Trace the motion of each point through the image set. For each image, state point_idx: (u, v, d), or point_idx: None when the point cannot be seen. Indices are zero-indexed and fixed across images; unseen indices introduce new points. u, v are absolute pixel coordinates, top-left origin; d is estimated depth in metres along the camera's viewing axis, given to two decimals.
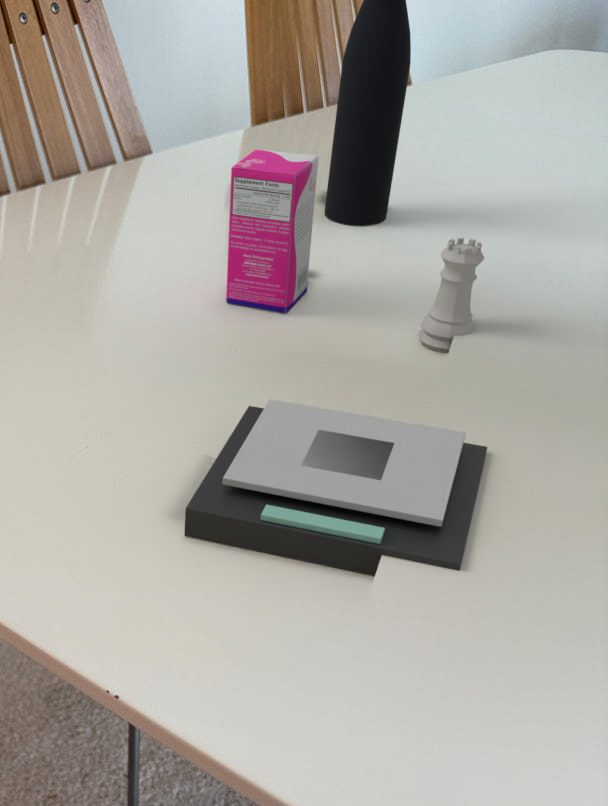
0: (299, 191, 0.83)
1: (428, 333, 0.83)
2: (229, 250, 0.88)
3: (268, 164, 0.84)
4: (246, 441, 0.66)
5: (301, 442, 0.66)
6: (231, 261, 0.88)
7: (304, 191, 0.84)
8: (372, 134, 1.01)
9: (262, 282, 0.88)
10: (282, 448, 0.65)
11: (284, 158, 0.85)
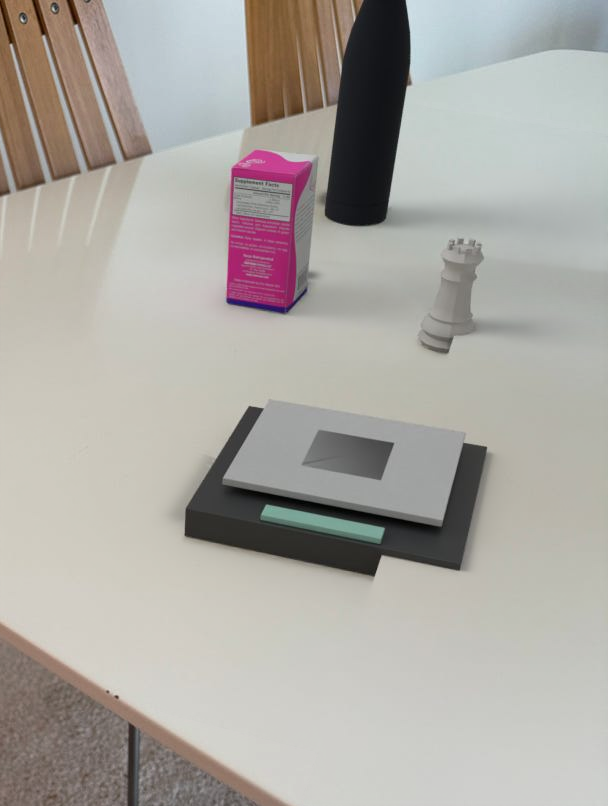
0: (299, 191, 0.83)
1: (428, 333, 0.83)
2: (229, 250, 0.88)
3: (268, 164, 0.84)
4: (246, 441, 0.66)
5: (301, 442, 0.66)
6: (231, 261, 0.88)
7: (304, 191, 0.84)
8: (372, 134, 1.01)
9: (262, 282, 0.88)
10: (282, 448, 0.65)
11: (284, 158, 0.85)
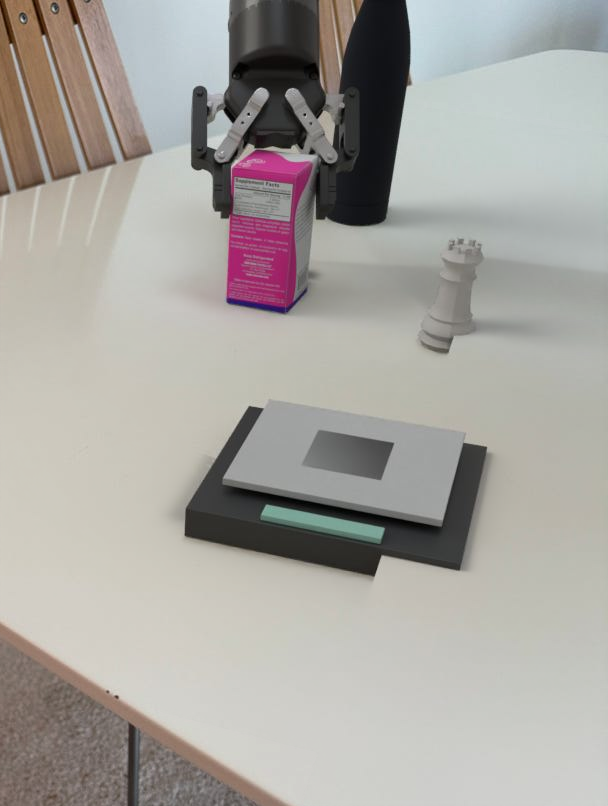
0: (299, 191, 0.83)
1: (428, 333, 0.83)
2: (229, 250, 0.88)
3: (269, 164, 0.84)
4: (246, 441, 0.66)
5: (301, 442, 0.66)
6: (231, 261, 0.88)
7: (304, 191, 0.84)
8: (372, 134, 1.01)
9: (262, 282, 0.88)
10: (282, 448, 0.65)
11: (284, 158, 0.85)
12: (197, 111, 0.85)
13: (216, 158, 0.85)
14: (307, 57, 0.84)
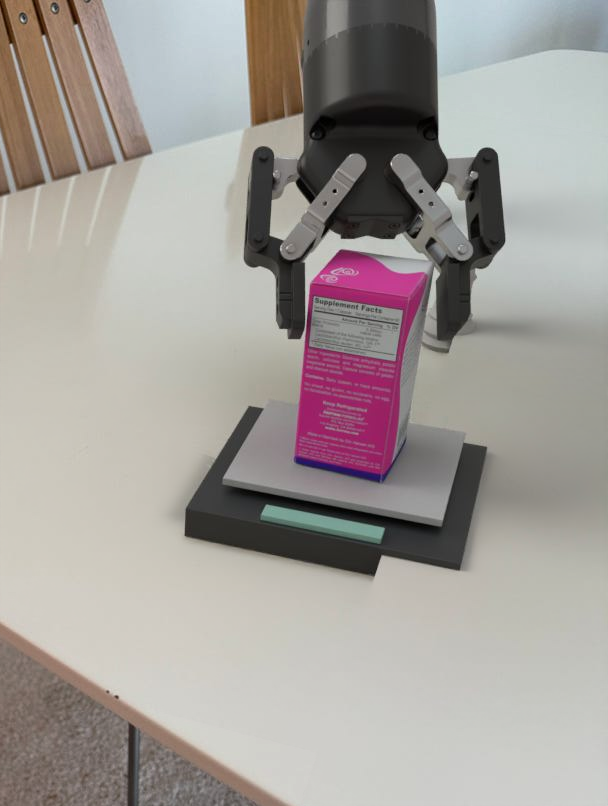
0: (411, 318, 0.56)
1: (428, 333, 0.83)
2: (302, 394, 0.61)
3: (365, 277, 0.57)
4: (246, 441, 0.66)
5: None
6: (304, 409, 0.61)
7: (416, 316, 0.57)
8: None
9: (349, 439, 0.61)
10: (282, 448, 0.65)
11: (386, 266, 0.58)
12: (258, 183, 0.58)
13: (283, 253, 0.58)
14: (424, 108, 0.57)
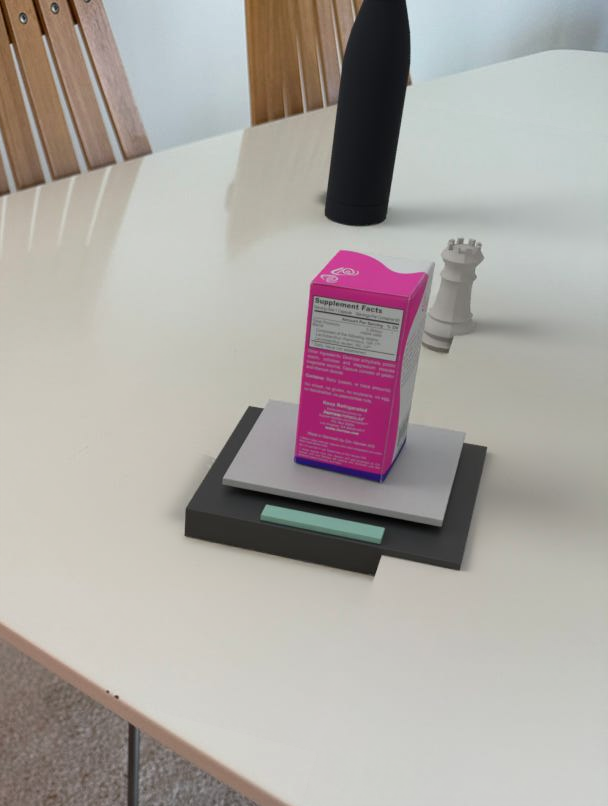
0: (411, 318, 0.56)
1: (428, 333, 0.83)
2: (302, 394, 0.61)
3: (365, 277, 0.57)
4: (246, 441, 0.66)
5: None
6: (304, 409, 0.61)
7: (416, 316, 0.57)
8: (372, 134, 1.01)
9: (349, 439, 0.61)
10: (282, 448, 0.65)
11: (386, 266, 0.58)
12: None
13: None
14: None
